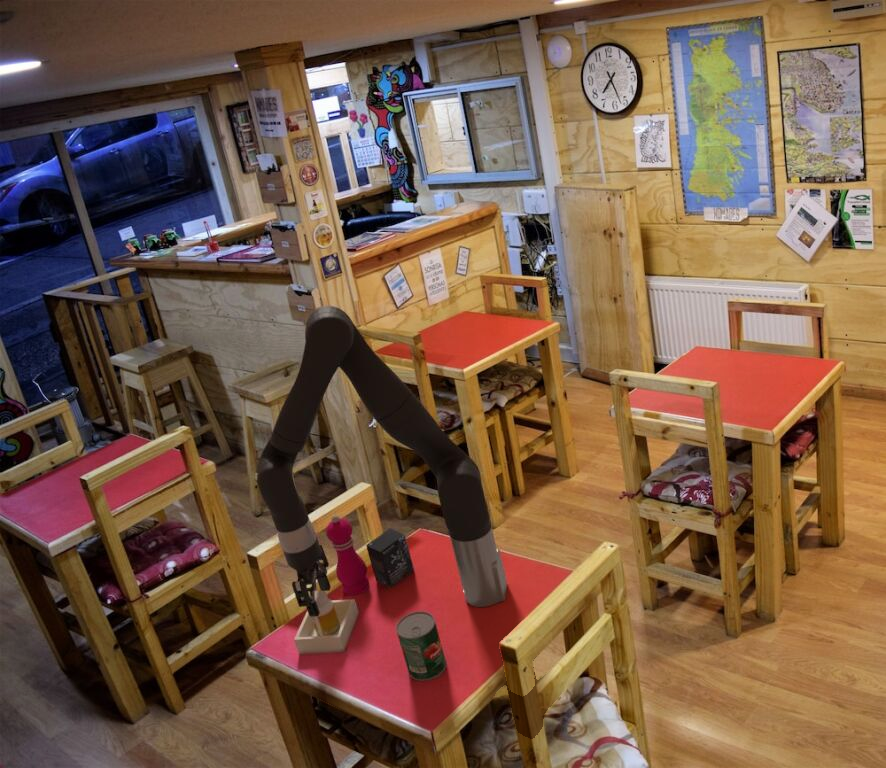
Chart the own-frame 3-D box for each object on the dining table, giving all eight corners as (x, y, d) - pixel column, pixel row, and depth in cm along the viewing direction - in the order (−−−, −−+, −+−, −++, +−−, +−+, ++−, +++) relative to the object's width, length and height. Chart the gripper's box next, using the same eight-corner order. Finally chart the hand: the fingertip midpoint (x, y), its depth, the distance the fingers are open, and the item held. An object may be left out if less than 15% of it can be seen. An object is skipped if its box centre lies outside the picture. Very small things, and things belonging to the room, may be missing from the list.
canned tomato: (407, 658, 182) (395, 616, 178) (444, 649, 182) (433, 607, 178) (409, 685, 175) (396, 641, 170) (448, 676, 175) (436, 632, 170)
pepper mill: (373, 575, 211) (352, 504, 203) (368, 594, 205) (346, 522, 197) (344, 579, 212) (322, 509, 204) (338, 598, 206) (316, 526, 198)
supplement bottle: (345, 624, 195) (334, 589, 192) (333, 641, 191) (321, 605, 187) (325, 621, 198) (313, 586, 194) (312, 638, 194) (300, 602, 190)
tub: (358, 613, 199) (354, 599, 197) (344, 651, 188) (339, 637, 186) (315, 615, 202) (311, 601, 200) (299, 654, 190) (294, 639, 189)
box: (391, 589, 205) (380, 551, 201) (375, 581, 209) (364, 544, 205) (415, 570, 209) (405, 533, 205) (399, 563, 213) (389, 527, 209)
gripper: (305, 559, 178) (327, 623, 184) (324, 519, 190) (345, 580, 197) (271, 563, 179) (294, 625, 186) (292, 523, 192) (314, 583, 198)
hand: (320, 602), depth 191 cm, fingers open, 8 cm apart
